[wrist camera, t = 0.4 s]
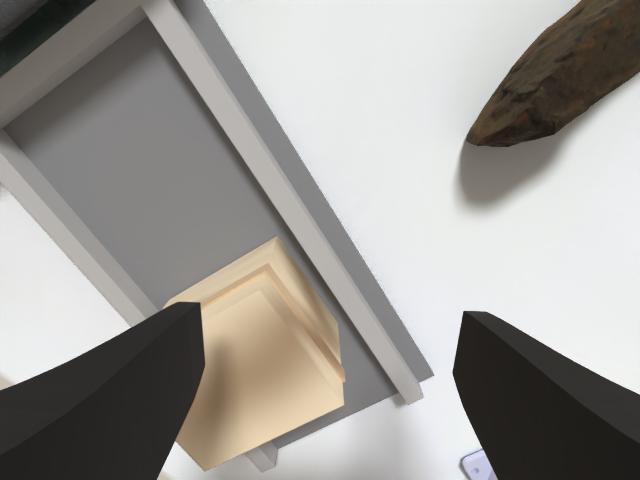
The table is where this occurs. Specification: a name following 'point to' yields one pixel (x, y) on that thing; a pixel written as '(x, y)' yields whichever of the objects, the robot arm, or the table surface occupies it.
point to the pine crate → (260, 356)
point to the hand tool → (563, 73)
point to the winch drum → (32, 26)
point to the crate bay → (184, 182)
